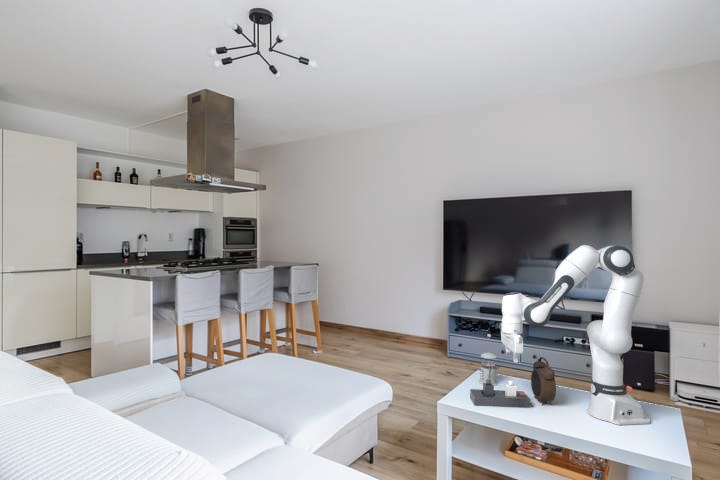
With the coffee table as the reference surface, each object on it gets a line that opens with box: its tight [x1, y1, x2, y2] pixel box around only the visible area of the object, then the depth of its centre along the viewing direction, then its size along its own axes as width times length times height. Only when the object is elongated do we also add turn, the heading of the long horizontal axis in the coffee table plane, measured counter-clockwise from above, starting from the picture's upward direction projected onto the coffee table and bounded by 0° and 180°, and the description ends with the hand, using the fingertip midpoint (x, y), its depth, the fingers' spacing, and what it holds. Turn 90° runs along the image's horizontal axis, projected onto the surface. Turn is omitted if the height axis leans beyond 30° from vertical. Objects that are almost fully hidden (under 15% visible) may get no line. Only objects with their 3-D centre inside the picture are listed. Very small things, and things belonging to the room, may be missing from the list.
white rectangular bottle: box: [504, 379, 517, 396], centre depth 184 cm, size 4×3×10 cm
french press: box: [478, 333, 499, 387], centre depth 209 cm, size 10×12×25 cm
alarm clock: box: [530, 356, 557, 407], centre depth 186 cm, size 14×7×20 cm, turn 178°
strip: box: [469, 388, 531, 409], centre depth 184 cm, size 24×9×5 cm, turn 87°
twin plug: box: [482, 379, 495, 395], centre depth 184 cm, size 4×3×10 cm
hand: (511, 359), depth 184 cm, fingers open, 8 cm apart
